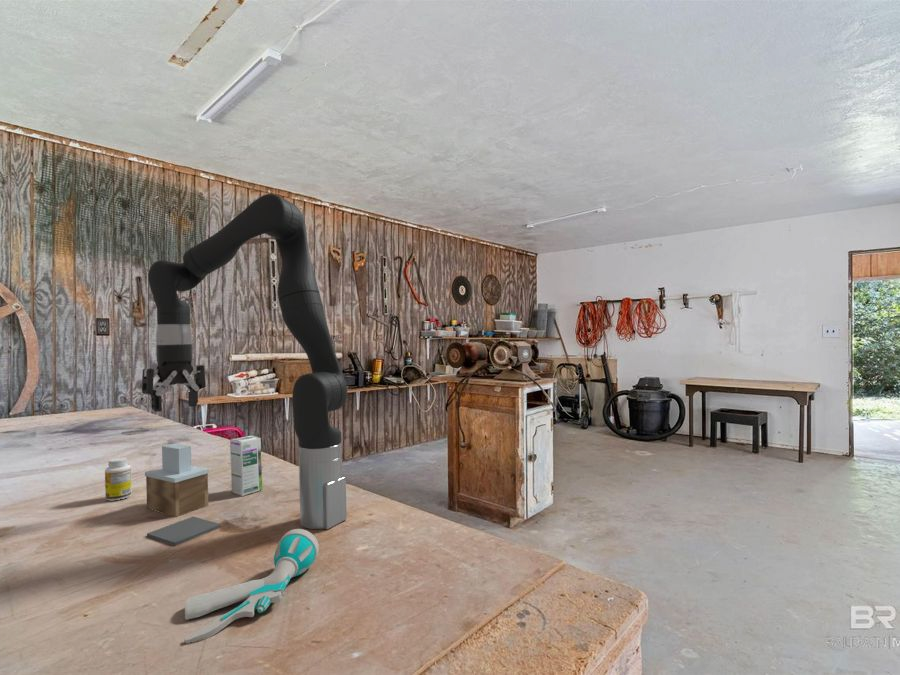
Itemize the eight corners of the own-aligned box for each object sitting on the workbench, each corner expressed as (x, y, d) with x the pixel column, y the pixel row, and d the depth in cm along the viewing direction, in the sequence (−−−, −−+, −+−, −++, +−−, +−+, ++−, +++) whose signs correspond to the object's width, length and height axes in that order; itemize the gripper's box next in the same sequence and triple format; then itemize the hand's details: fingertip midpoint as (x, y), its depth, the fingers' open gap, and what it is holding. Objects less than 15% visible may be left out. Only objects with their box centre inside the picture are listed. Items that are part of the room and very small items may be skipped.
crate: (208, 505, 113) (207, 473, 113) (175, 516, 106) (175, 482, 106) (179, 497, 118) (178, 467, 118) (146, 508, 111) (146, 475, 111)
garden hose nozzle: (174, 621, 60) (327, 572, 68) (191, 552, 76) (314, 519, 84) (183, 669, 61) (333, 615, 69) (198, 591, 77) (318, 554, 85)
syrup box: (242, 496, 118) (241, 441, 118) (230, 492, 122) (229, 438, 122) (262, 490, 123) (261, 437, 123) (251, 486, 126) (249, 434, 126)
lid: (208, 476, 113) (208, 444, 113) (174, 486, 105) (174, 452, 105) (179, 470, 119) (178, 440, 119) (144, 479, 111) (144, 447, 111)
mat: (221, 526, 99) (221, 524, 99) (175, 545, 91) (175, 542, 91) (193, 518, 104) (193, 516, 104) (146, 536, 95) (146, 533, 95)
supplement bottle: (109, 496, 121) (108, 458, 121) (134, 493, 123) (133, 455, 123) (102, 503, 116) (101, 463, 116) (128, 499, 118) (127, 460, 118)
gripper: (152, 343, 104) (154, 414, 104) (211, 342, 116) (212, 405, 117) (134, 343, 107) (136, 412, 108) (193, 342, 120) (194, 403, 120)
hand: (175, 408), depth 112 cm, fingers open, 8 cm apart
